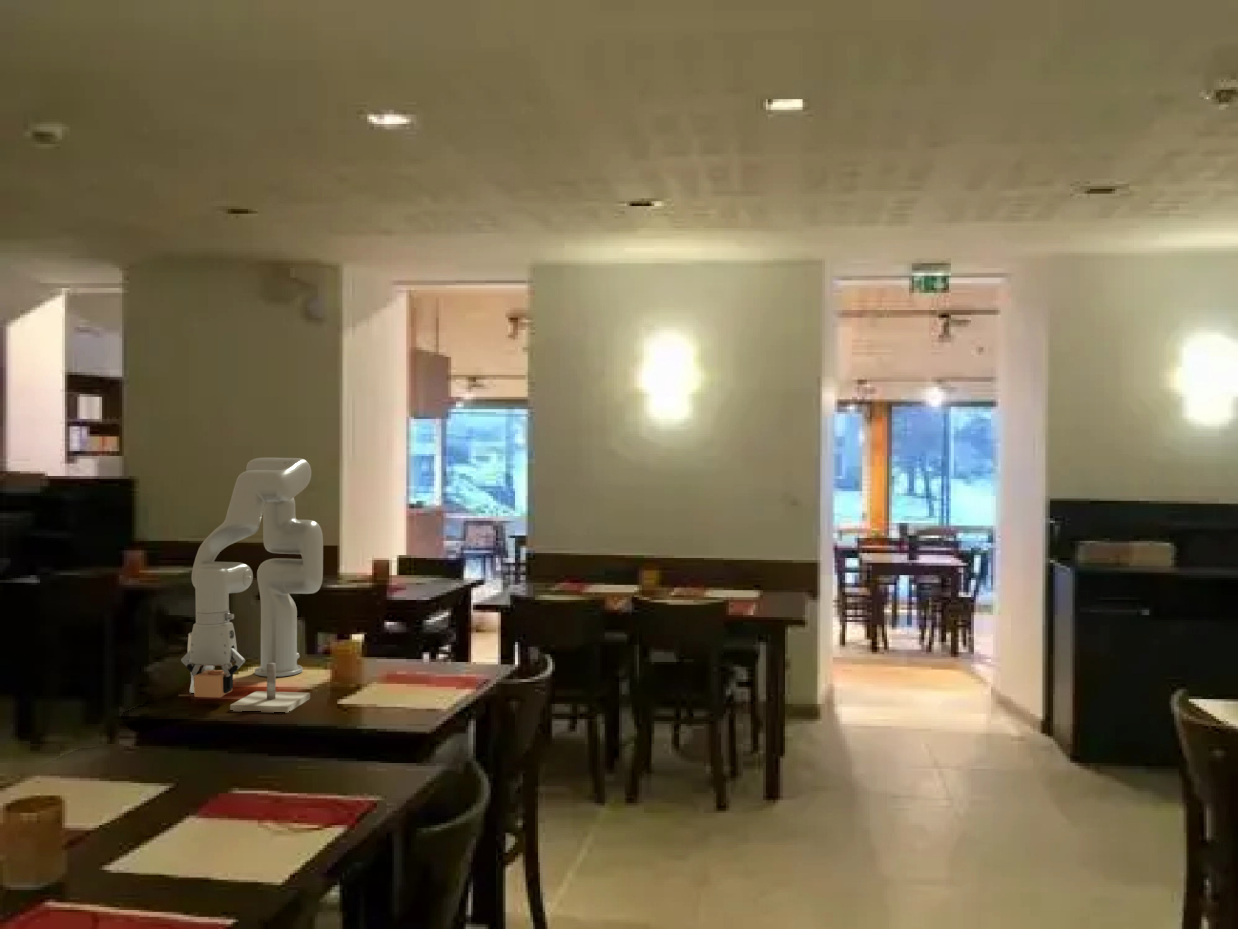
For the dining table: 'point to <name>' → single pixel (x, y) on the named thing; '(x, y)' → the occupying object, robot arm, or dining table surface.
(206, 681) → the orange square block
